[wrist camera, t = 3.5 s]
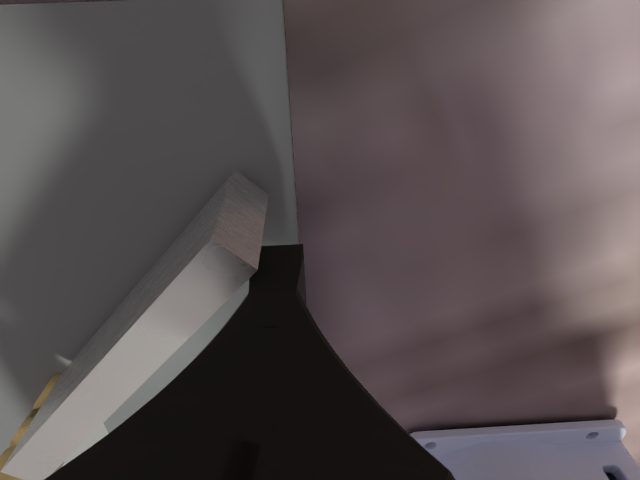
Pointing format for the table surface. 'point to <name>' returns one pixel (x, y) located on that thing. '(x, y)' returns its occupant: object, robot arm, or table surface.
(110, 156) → the hinge base
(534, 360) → the table surface
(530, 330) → the table surface
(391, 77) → the table surface
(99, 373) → the hinge leaf
